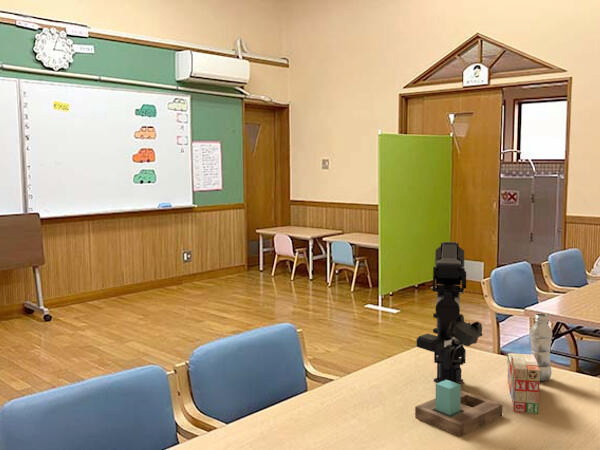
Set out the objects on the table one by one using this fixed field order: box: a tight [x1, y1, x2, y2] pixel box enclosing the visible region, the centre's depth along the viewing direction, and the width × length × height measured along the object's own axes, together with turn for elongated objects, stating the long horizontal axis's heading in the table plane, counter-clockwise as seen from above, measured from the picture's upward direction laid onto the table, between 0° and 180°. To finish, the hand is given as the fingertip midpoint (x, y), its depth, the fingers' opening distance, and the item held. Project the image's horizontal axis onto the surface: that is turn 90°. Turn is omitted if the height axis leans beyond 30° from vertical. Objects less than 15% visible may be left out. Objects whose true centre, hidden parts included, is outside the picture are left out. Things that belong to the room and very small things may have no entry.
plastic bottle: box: [529, 313, 553, 382], centre depth 176 cm, size 6×7×20 cm
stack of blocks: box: [507, 353, 541, 415], centre depth 164 cm, size 21×6×12 cm, turn 165°
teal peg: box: [435, 380, 462, 418], centre depth 149 cm, size 4×4×10 cm
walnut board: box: [414, 390, 503, 438], centre depth 152 cm, size 14×18×3 cm
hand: (447, 368), depth 153 cm, fingers closed
